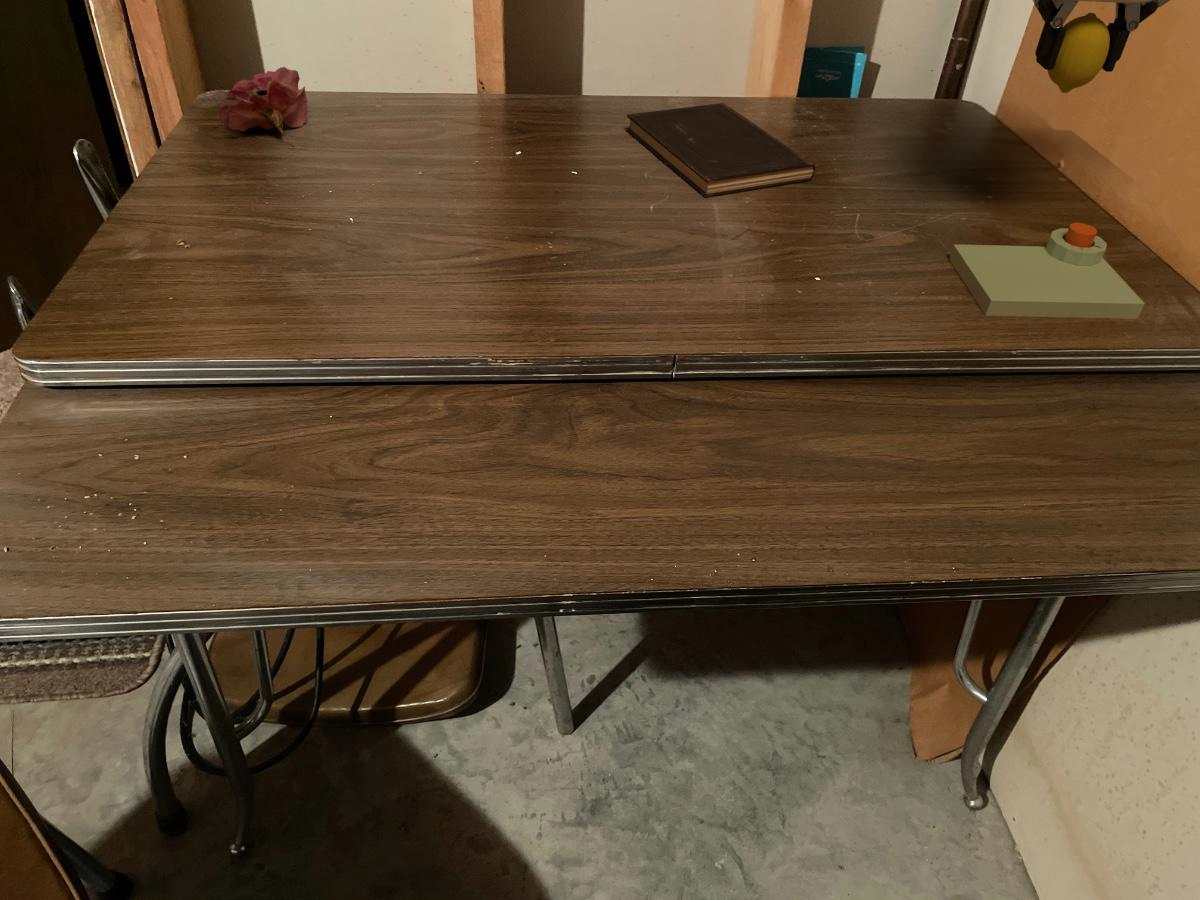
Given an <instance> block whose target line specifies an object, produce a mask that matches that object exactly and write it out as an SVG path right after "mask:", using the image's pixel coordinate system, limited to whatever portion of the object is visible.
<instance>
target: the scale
mask: <svg viewBox="0 0 1200 900" xmlns="http://www.w3.org/2000/svg"><path fill="white" fill-rule="evenodd" d="M1068 229H1069V227H1068V228H1066V227H1065V228H1063V227H1061V228H1057V229H1055V230H1053V231H1051V233H1050V236H1049V239H1048V241H1047V244H1046V246H1040V245H1039V246H1036V245H1035V246H1034V245H1000V244H999V245H997V244H996V245H993V244H992V245H991V244H953V245H952V249H951V251H950V254H949V258H948V260H949V261H950V263H951V264H952V266H953V268H954V269H955V271H956V272H957V274H958V275H959V277H960V279H961V280H962V281H963V283H964V285H965V286H966V288H967V289H968V291H969V292H970V294H971V295H972V297H973V298H974V300H975V301H976V303H977V305H978V306H979V308H980V309H981V311H982V312H983V314H984V315H985V316H990V317H992V316H993V317H994V316H995V317H1035V318H1036V317H1037V318H1038V317H1039V318H1040V317H1041V318H1042V317H1043V318H1082V319H1083V318H1084V319H1086V318H1087V319H1127V320H1128V319H1131V320H1133V319H1134V320H1137V319H1139V316H1140V314H1141V312H1142V310H1143V309H1144V306H1145V302H1144V301H1143V300H1142V299H1141V298H1140V297H1139V295H1138V294H1137V293H1136V292H1135V291H1134V290H1133V289H1132V288H1131V286H1129V285H1128V283H1127V282H1126V281H1125V280H1124V279H1123V278H1122V276H1120V275H1119V274H1118V273H1117V272H1116V270H1115V269H1114V268H1113V267H1112V266H1111V265H1110V264H1109V263H1108V262H1107V261H1106V259H1105V258H1104V255H1105V252H1106V251H1107V246H1108V244H1107V242H1106V241H1105V240H1104V239H1103V238H1102V237H1100V236H1098V235H1096V236H1095V238H1094V241H1093V243H1092V245H1091V247H1089V248H1082V247H1077V246H1073V245H1071V244H1069V243H1067V242H1065V241H1064V239H1065V236H1066V234H1067V231H1068Z"/></svg>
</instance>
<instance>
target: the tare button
mask: <svg viewBox="0 0 1200 900" xmlns="http://www.w3.org/2000/svg"><path fill="white" fill-rule="evenodd" d="M1068 228H1069V229H1068V231H1067V234H1066V236H1065V239H1064V241H1065V242H1067V243H1069V244H1071V245H1073V246H1077V247H1082V248H1089V247H1091V245H1092V243H1093V241H1094V238H1095V236H1097V233H1098V230H1097V229H1096V228H1095V227H1094V226H1092V225H1090V224H1088V223H1082V222H1072V223H1071V224H1069V226H1068Z"/></svg>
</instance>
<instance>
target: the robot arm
mask: <svg viewBox="0 0 1200 900" xmlns="http://www.w3.org/2000/svg"><path fill="white" fill-rule="evenodd" d="M1170 1H1171V0H1032V2H1033V3H1034V6H1035V8H1036V9H1037V11H1038V13H1039V14H1040V16H1041V20H1042V21H1043V22H1044V23H1043V26H1042V30H1041V33H1040V36H1039V39H1038V41H1037V46H1036V48H1035V61H1036V63H1037V64H1038V65H1039V66H1041V67H1042V68H1043V69H1044V70H1046V71H1047V70H1051V69H1052V68H1054V66H1055V63H1056V60H1057V57H1058V54H1059V51H1060V48H1061V46H1062V43H1063V40H1064V37H1065V34H1066V30H1065V29H1064V28H1062V27H1063V26H1064V25H1065V23H1066V21H1067V20H1068V18H1069V16H1070V15H1071V14H1072V12H1073V10H1074V9H1075V7H1076V6H1077V4H1078V3H1079V2H1091V3H1092V2H1094V3H1115V10H1114V11H1115V12H1114V13H1115V14H1114V20H1113V22H1109V23H1108V25H1106V26H1107V28H1108V31H1109V35H1110V43H1109V50H1108V54H1107V58H1106V60H1105V63H1104V65H1103V67H1102V68H1101V70H1103V71H1105V72H1107V73H1112V72H1113V71H1114V70H1115V67H1116V64H1117V62H1118V61H1120V59H1121V57H1122V55H1123V52H1124V49H1125V48H1126V44H1127V42H1128V40H1129V36H1130V34H1131V32H1134V31H1136V30H1137V29H1138V28H1139V27H1140V24H1141V23H1142V22H1143V21H1145V20H1146V19H1148V18H1149V17H1150V16H1152V15H1153V14H1154V13H1155V12H1156V11H1157V10H1158V9H1159V8H1161V7H1163V6H1164V5H1165V4H1167V3H1169V2H1170Z"/></svg>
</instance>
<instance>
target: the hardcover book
mask: <svg viewBox="0 0 1200 900" xmlns="http://www.w3.org/2000/svg"><path fill="white" fill-rule="evenodd" d="M626 117H627V118H628V119H629V127H628V128H625V131H626V132H628V134H630V135H631V136H632V137H633V138H634V139H635V140H636V141H638V142H639V143H640V144H641V145H643V146H644V147H645V148H646V149H647V150H648V151H650V152H651V153H652V154H653V155H654V156H655V157H657V158H658V159H659V160H660V161H661V162H662V163H664V164H665V165H666V166H668V167H669V168H670V169H671V170H672V171H673V172H675V173H676V174H677V175H678V176H679V177H680V178H682V179H683V180H684V181H685V182H686V183H687V184H688V185H690V186H691V187H692V188H693V189H694V190H696V191H697V192H698V193H699V194H700V195H701V196H702V197H704V198H713V197H718V196H724V195H730V194H737V193H742V192H748V191H754V190H759V189H760V190H762V189H768V188H775V187H780V186H785V185H786V186H787V185H792V184H793V185H794V184H798V183H805V182H809V181H811V180H812V179H813V178H814V176H815V172H816V165H815V164H814V163H812V162H811V161H809V160H808V159H807V158H805V157H804V156H802V155H801V154H799V153H797V151H795V150H793V149H792V148H791V147H789V146H788V145H786V144H784V143H783V142H782V141H780V140H779V139H777V138H776V137H774V136H773V135H771V134H770V133H769V132H767V131H766V130H764V129H763V128H761V127H760V126H758V125H757V124H755V123H754V122H752V121H751V120H749V119H748V118H746V117H745V116H743V115H742V114H740V113H739V112H737V111H736V110H735V109H733V108H732V107H731V106H729V105H727V104H726V103H724V102H720V103H719V102H718V103H711V104H704V105H695V106H686V107H679V108H670V109H661V110H653V111H645V112H638V113H637V112H636V113H630V114H627V115H626Z"/></svg>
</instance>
